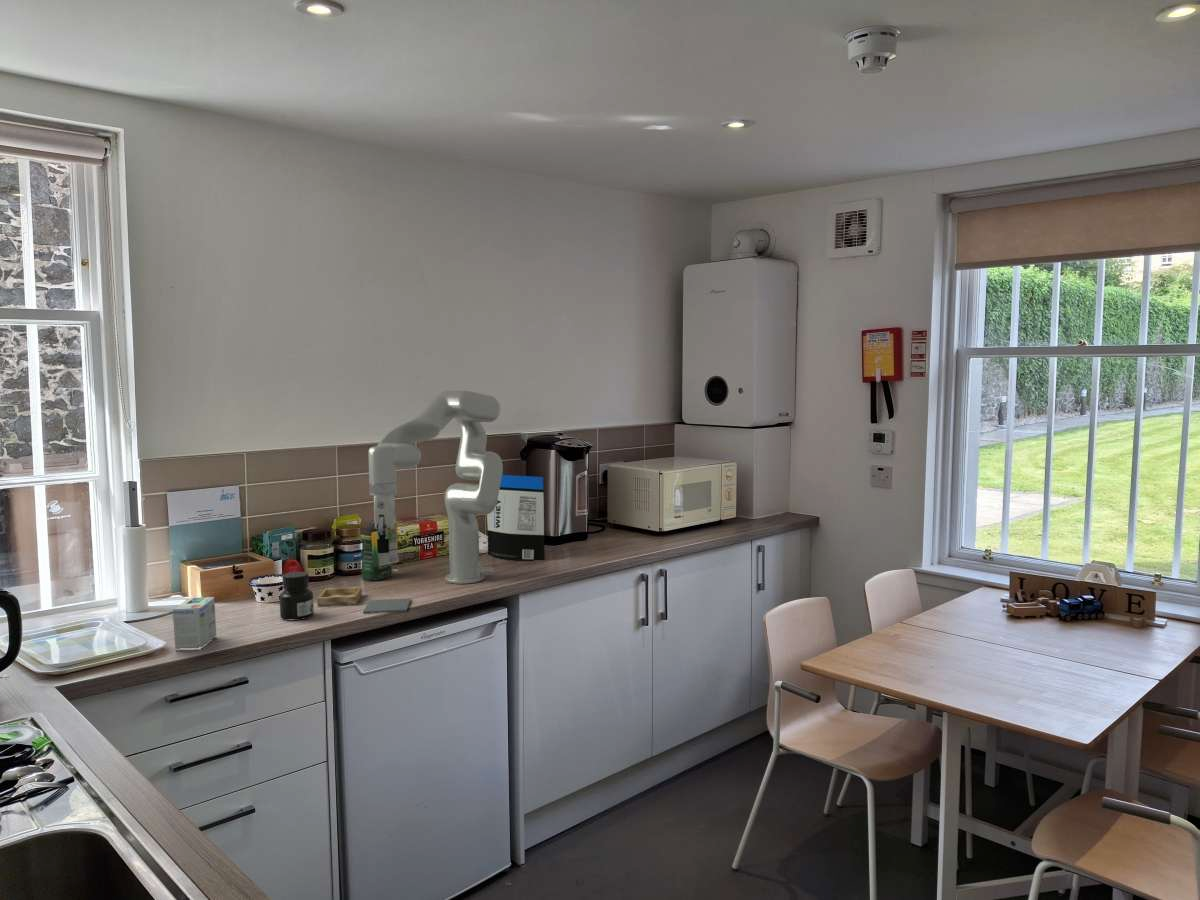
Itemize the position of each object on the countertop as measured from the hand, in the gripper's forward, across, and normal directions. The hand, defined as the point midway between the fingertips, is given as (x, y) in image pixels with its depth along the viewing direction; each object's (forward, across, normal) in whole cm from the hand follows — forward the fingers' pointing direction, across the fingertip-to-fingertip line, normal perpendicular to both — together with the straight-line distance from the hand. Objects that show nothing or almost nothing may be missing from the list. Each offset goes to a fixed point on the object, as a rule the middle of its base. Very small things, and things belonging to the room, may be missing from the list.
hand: (385, 549), depth 248 cm
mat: (+17, 0, 0) cm, 17 cm away
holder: (+17, +9, +15) cm, 24 cm away
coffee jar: (+17, +36, +8) cm, 41 cm away
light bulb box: (+18, -27, +44) cm, 54 cm away
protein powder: (+17, +59, -38) cm, 72 cm away
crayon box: (+4, 0, 0) cm, 4 cm away
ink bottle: (+17, -6, +24) cm, 30 cm away
